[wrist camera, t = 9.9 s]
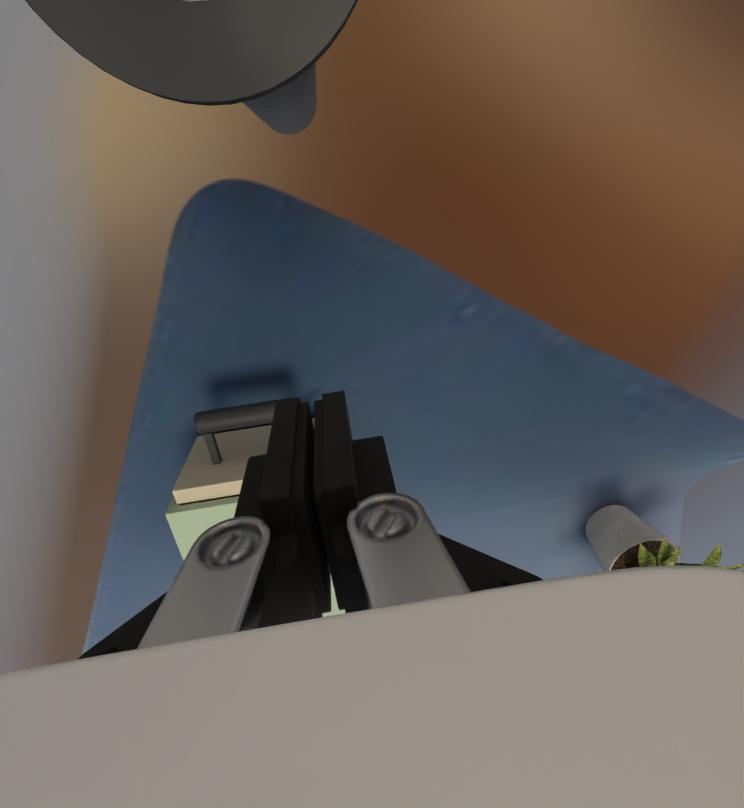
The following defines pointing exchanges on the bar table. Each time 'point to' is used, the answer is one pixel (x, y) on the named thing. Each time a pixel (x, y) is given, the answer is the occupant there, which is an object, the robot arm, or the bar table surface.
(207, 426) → the drawer
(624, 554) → the house plant
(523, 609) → the robot arm
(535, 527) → the bar table surface
